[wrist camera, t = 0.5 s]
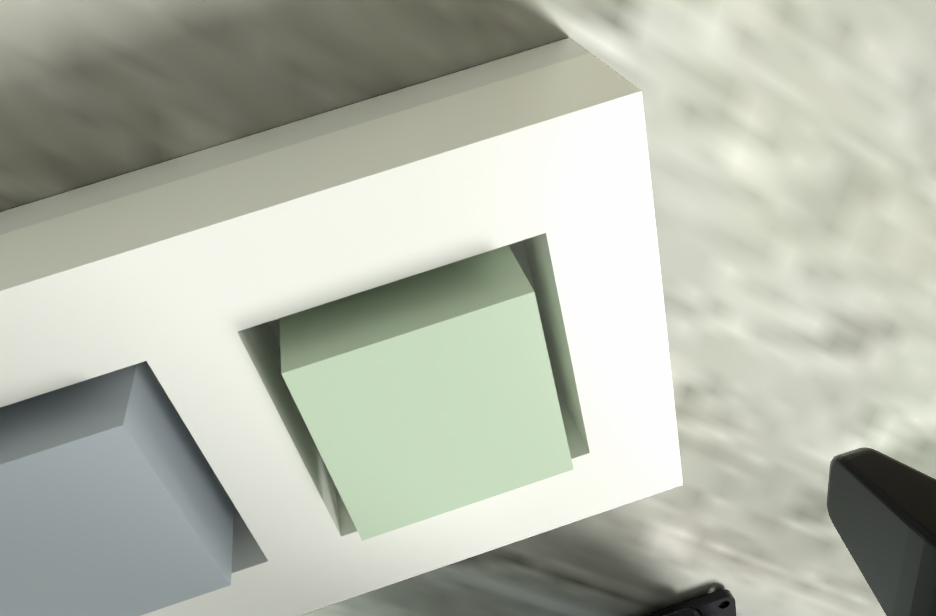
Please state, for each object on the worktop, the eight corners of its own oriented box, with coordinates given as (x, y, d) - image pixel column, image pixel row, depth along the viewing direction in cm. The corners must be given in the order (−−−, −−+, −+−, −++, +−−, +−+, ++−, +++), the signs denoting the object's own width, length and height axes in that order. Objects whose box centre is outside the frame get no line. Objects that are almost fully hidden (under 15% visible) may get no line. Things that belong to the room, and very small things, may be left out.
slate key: (233, 505, 22) (230, 585, 19) (35, 571, 21) (9, 660, 19) (140, 350, 18) (122, 424, 16) (-95, 425, 18) (-146, 511, 16)
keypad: (624, 389, 26) (683, 484, 23) (-266, 686, 25) (-359, 840, 21) (569, 37, 19) (641, 90, 16) (-661, 415, 18) (-902, 572, 14)
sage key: (542, 402, 22) (573, 469, 20) (352, 465, 22) (361, 540, 19) (502, 235, 19) (534, 291, 17) (279, 305, 19) (281, 373, 16)
